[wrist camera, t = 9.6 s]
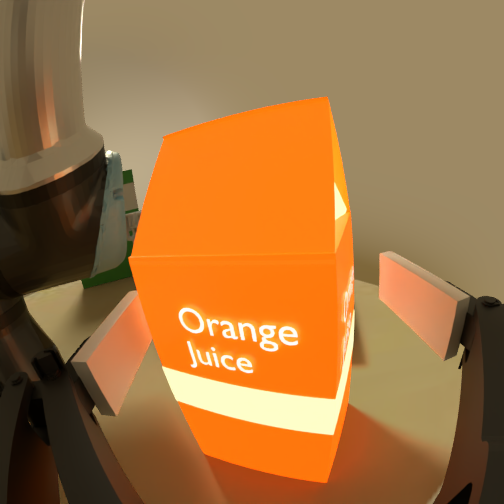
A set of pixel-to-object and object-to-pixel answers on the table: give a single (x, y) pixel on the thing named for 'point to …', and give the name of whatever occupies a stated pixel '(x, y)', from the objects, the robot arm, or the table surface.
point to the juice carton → (253, 285)
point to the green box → (124, 267)
